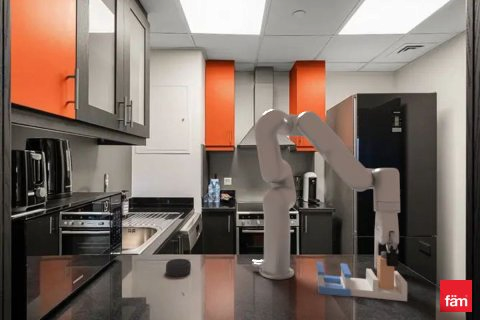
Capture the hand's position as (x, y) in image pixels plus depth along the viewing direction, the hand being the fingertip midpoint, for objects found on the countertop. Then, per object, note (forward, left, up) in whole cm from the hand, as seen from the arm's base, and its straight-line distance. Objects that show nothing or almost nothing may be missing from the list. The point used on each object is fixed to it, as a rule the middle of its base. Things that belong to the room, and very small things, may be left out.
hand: (387, 261), depth 94 cm
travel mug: (+4, +22, -10) cm, 25 cm away
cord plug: (-1, 0, -8) cm, 8 cm away
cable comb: (-9, 0, -10) cm, 13 cm away
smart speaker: (-71, 0, -10) cm, 71 cm away
